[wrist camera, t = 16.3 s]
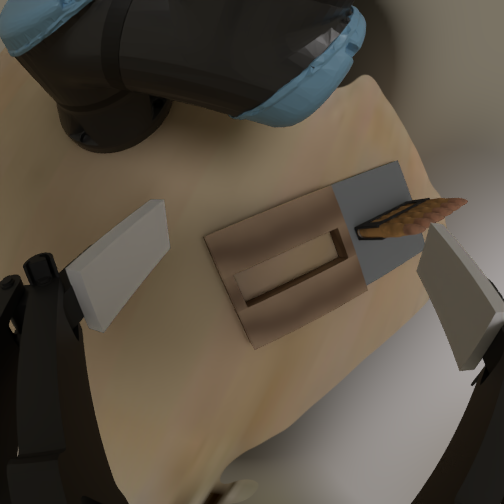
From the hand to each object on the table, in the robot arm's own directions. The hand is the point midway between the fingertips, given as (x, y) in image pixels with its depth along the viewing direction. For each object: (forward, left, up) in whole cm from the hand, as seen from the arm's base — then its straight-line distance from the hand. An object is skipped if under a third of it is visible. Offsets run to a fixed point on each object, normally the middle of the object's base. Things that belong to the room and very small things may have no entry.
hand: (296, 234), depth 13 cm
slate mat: (+5, +20, -20) cm, 29 cm away
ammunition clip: (+5, +20, -20) cm, 29 cm away
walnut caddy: (+5, +5, -20) cm, 22 cm away
